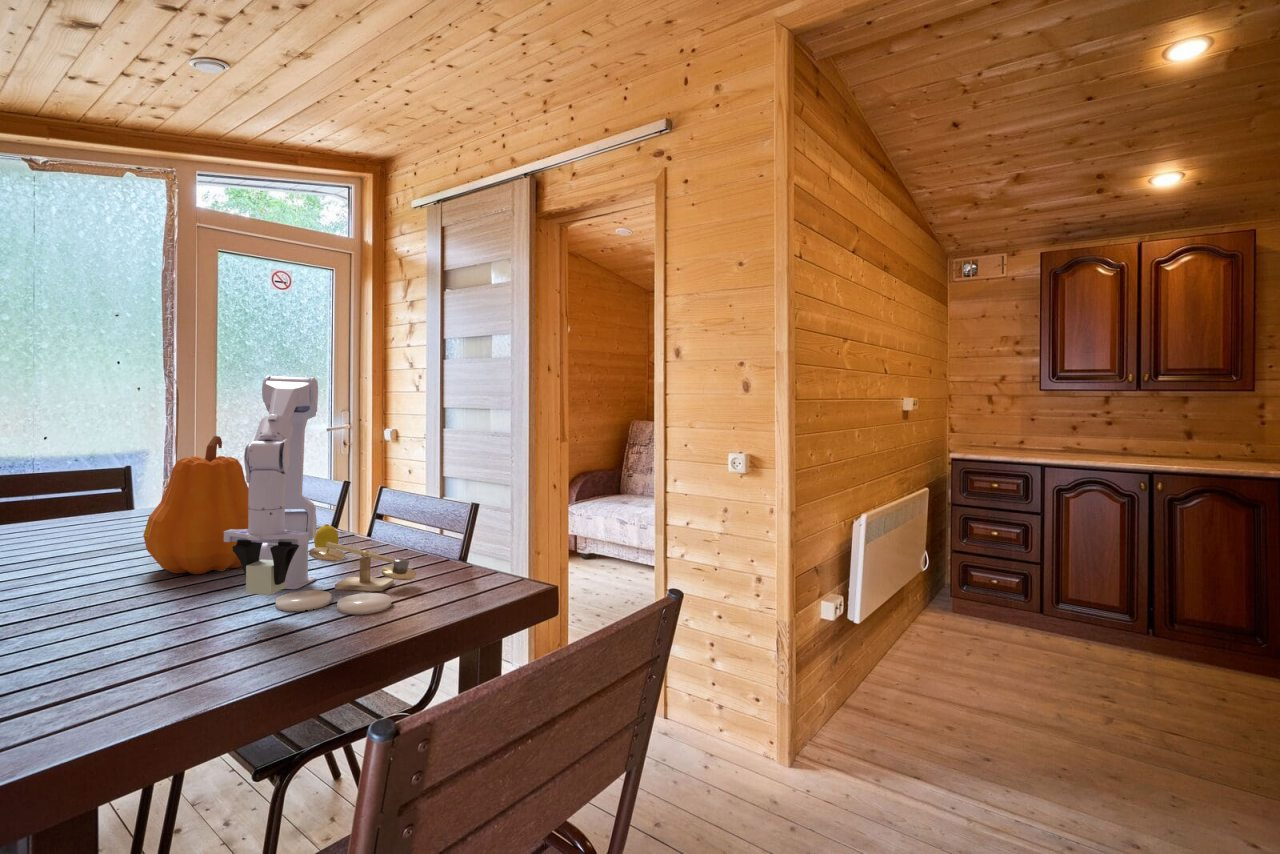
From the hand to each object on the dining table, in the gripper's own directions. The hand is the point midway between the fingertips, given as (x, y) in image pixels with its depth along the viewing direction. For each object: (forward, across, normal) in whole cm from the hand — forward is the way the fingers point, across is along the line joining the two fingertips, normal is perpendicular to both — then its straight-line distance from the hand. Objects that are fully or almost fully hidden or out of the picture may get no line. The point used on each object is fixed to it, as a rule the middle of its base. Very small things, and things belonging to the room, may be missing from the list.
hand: (266, 582), depth 119 cm
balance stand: (+7, +8, +22) cm, 24 cm away
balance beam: (+2, +7, +22) cm, 23 cm away
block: (+1, 0, 0) cm, 1 cm away
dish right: (+6, +14, +9) cm, 18 cm away
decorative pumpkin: (+7, -33, +31) cm, 46 cm away
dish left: (+6, +2, +9) cm, 11 cm away
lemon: (+7, -13, +46) cm, 48 cm away
